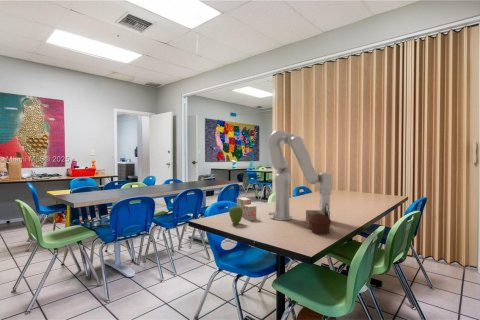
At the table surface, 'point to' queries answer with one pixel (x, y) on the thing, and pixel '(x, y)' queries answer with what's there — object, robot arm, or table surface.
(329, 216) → the sage block
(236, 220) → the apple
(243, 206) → the stack of blocks
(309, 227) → the riser box
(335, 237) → the table surface
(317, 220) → the muffin
